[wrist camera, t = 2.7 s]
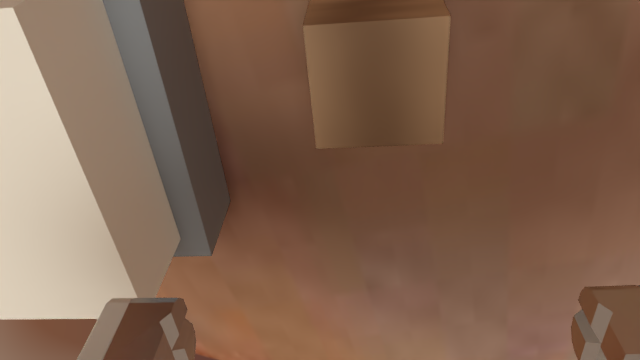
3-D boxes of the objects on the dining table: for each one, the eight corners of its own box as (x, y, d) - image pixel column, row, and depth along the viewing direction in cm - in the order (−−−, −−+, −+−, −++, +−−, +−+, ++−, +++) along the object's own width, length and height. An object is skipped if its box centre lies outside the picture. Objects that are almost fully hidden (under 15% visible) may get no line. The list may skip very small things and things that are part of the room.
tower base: (166, -85, 22) (121, -62, 18) (231, 197, 30) (211, 255, 26) (-112, -61, 23) (-213, -34, 19) (26, 202, 32) (-23, 259, 27)
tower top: (90, -35, 18) (12, 7, 14) (180, 238, 26) (146, 318, 22) (-161, -14, 19) (-300, 31, 15) (-4, 243, 27) (-70, 319, 23)
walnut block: (430, -29, 22) (450, 16, 17) (426, 79, 25) (442, 143, 20) (315, -20, 22) (302, 25, 18) (324, 85, 25) (316, 149, 20)
